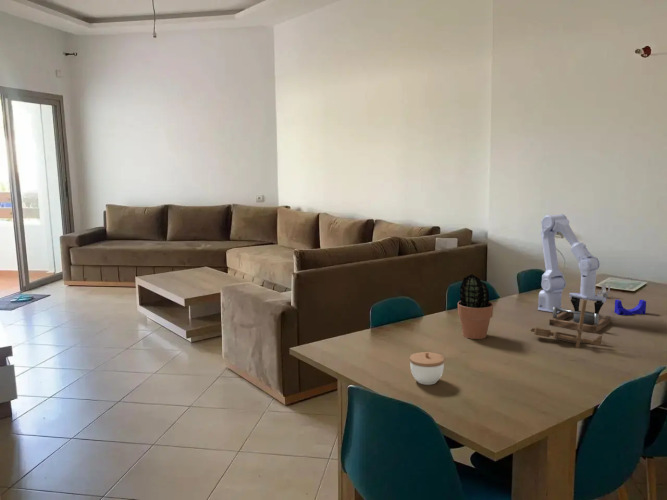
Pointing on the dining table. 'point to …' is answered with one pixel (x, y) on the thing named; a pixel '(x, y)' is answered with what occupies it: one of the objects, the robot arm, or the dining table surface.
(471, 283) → the potted plant
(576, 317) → the grey round dome
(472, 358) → the dining table surface
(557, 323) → the frame
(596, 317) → the metal handle
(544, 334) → the wooden figure
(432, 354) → the lidded jar
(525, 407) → the dining table surface
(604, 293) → the architectural model
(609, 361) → the dining table surface
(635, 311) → the blue curved piece
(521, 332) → the dining table surface
